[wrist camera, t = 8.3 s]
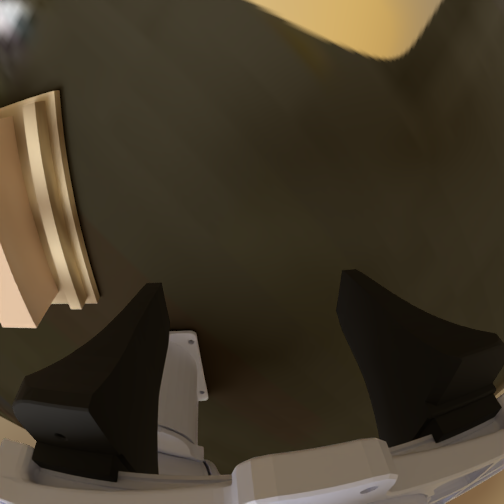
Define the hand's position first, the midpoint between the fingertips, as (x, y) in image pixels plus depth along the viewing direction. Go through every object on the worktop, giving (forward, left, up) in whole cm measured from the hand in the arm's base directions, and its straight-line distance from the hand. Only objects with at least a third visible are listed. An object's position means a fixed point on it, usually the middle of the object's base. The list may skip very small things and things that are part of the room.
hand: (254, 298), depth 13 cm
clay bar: (+2, +17, -9) cm, 19 cm away
